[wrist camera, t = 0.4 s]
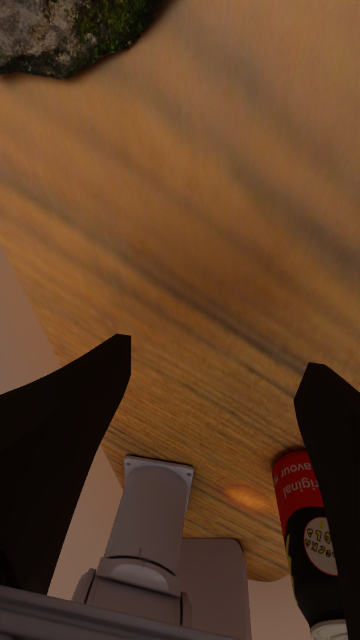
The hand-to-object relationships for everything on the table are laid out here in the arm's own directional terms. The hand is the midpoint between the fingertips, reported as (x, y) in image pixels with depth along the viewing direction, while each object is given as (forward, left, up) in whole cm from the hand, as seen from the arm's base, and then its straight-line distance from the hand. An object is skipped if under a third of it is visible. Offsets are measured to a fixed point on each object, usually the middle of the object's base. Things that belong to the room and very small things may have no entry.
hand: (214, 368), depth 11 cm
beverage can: (-19, -12, -10) cm, 24 cm away
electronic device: (-40, -5, -10) cm, 41 cm away
